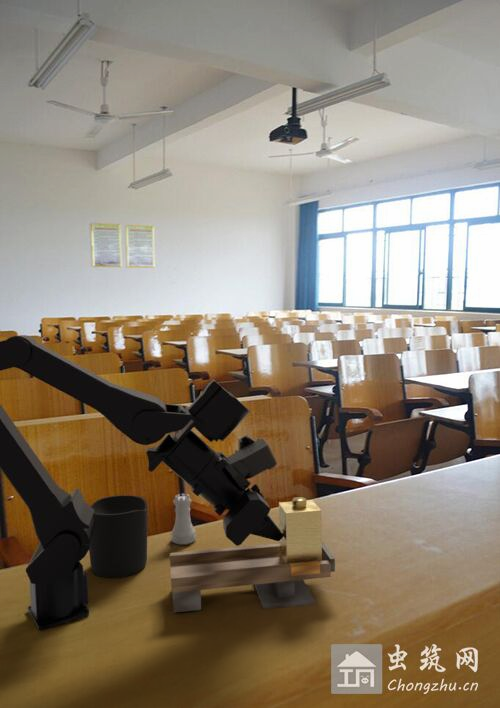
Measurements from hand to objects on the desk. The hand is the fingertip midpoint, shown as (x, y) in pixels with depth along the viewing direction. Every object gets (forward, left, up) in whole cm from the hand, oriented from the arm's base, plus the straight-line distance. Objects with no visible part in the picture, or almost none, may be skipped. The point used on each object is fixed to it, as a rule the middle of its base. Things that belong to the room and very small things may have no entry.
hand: (280, 537), depth 80 cm
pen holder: (-16, +22, -8) cm, 28 cm away
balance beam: (-4, +2, -8) cm, 9 cm away
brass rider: (+3, -1, -4) cm, 5 cm away
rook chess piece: (-3, +25, -8) cm, 26 cm away
